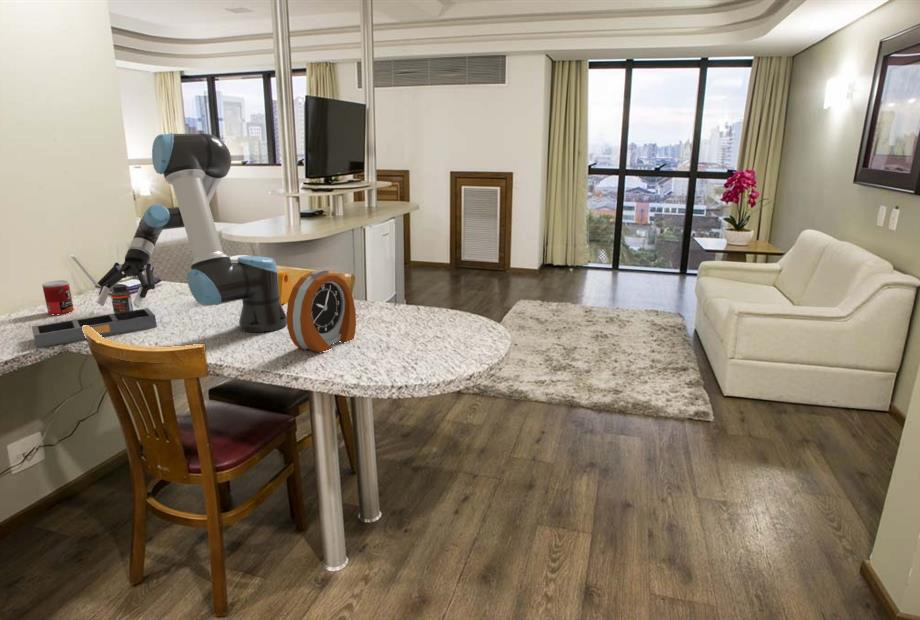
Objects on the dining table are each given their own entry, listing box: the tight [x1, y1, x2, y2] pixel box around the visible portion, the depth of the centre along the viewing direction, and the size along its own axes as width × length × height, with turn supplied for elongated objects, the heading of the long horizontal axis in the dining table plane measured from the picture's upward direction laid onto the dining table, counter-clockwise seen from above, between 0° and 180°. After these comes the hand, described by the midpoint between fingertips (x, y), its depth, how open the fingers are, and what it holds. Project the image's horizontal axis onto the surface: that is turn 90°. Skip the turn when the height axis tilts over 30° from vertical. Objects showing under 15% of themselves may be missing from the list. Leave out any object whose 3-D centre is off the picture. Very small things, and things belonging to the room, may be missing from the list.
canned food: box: [41, 279, 75, 316], centre depth 213 cm, size 8×8×11 cm
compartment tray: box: [31, 307, 158, 349], centre depth 192 cm, size 11×33×4 cm, turn 127°
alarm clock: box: [286, 269, 357, 353], centre depth 178 cm, size 22×10×23 cm, turn 151°
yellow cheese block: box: [277, 270, 294, 305], centre depth 225 cm, size 11×7×12 cm, turn 169°
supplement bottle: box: [110, 284, 134, 314], centre depth 207 cm, size 6×6×11 cm
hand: (118, 304), depth 206 cm, fingers open, 13 cm apart
